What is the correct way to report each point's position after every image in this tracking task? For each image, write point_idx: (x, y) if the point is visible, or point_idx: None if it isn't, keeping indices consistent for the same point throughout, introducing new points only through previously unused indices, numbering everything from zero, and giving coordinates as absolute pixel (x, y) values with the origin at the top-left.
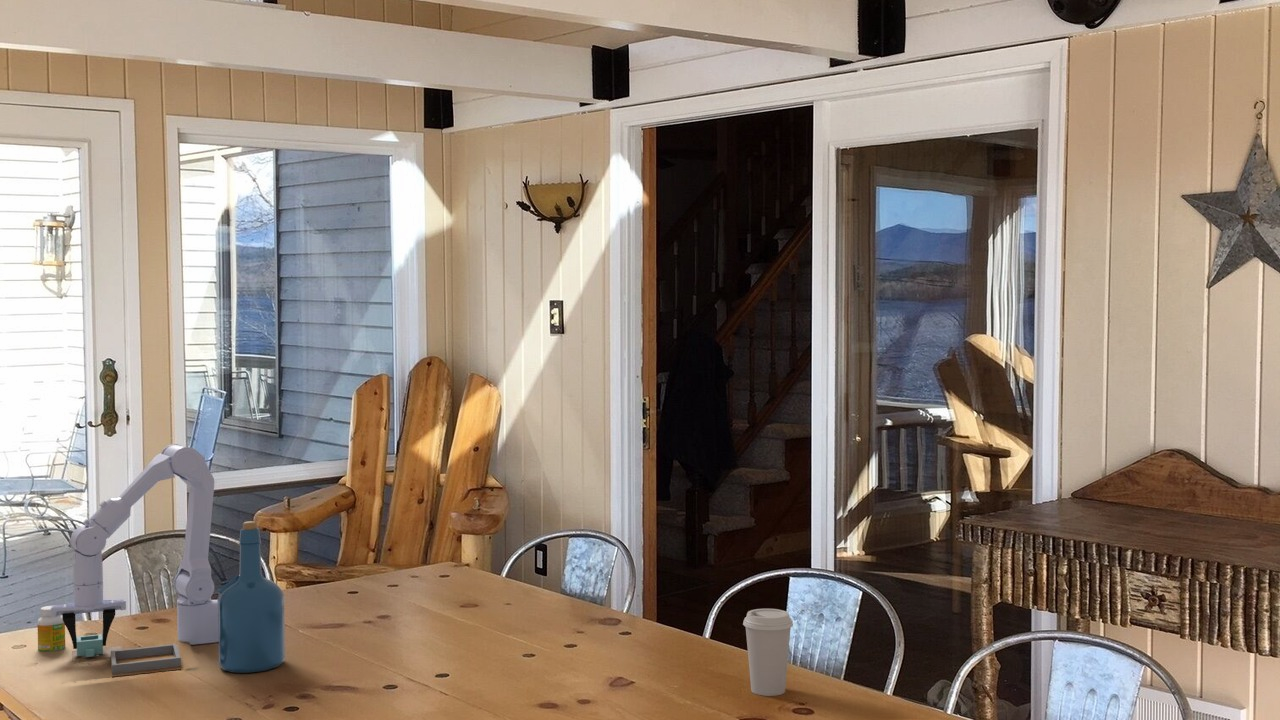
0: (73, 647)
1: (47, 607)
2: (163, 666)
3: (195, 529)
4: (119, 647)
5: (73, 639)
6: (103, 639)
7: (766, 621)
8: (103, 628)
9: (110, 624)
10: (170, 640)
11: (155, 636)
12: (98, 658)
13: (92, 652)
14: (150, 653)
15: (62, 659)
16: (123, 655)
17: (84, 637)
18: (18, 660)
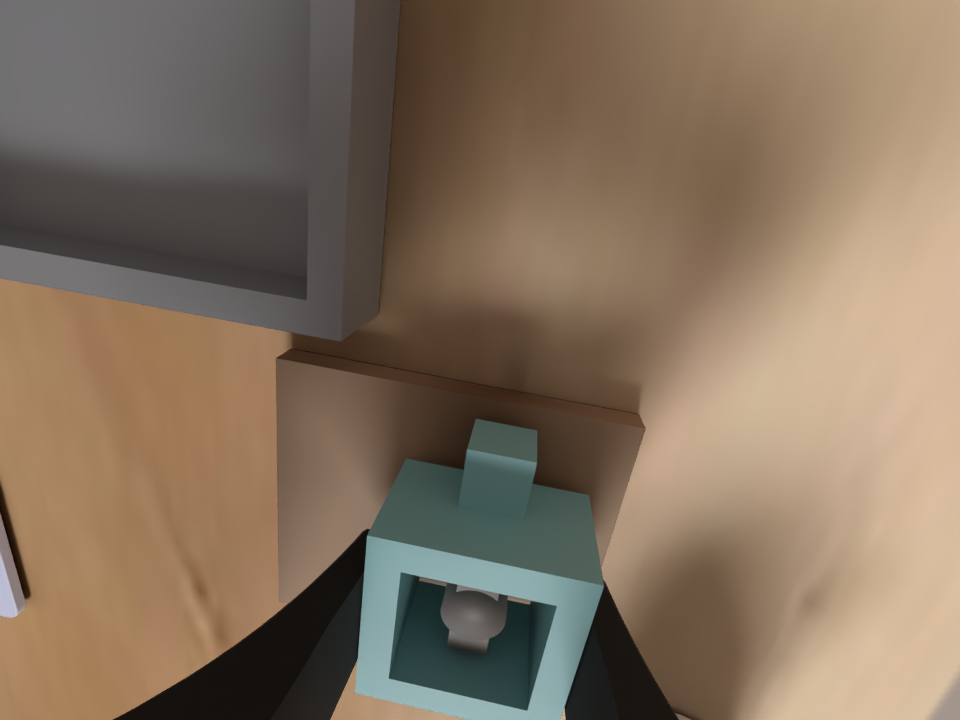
0: (607, 590)
1: None
2: None
3: None
4: (295, 575)
5: (623, 646)
6: (360, 563)
7: None
8: (307, 652)
9: (202, 670)
10: (52, 596)
11: (134, 699)
12: (450, 390)
13: (484, 437)
14: (68, 243)
15: (645, 586)
16: (262, 279)
17: (498, 696)
18: (876, 713)
